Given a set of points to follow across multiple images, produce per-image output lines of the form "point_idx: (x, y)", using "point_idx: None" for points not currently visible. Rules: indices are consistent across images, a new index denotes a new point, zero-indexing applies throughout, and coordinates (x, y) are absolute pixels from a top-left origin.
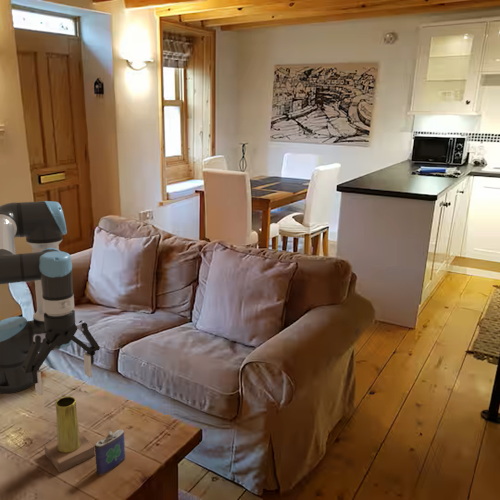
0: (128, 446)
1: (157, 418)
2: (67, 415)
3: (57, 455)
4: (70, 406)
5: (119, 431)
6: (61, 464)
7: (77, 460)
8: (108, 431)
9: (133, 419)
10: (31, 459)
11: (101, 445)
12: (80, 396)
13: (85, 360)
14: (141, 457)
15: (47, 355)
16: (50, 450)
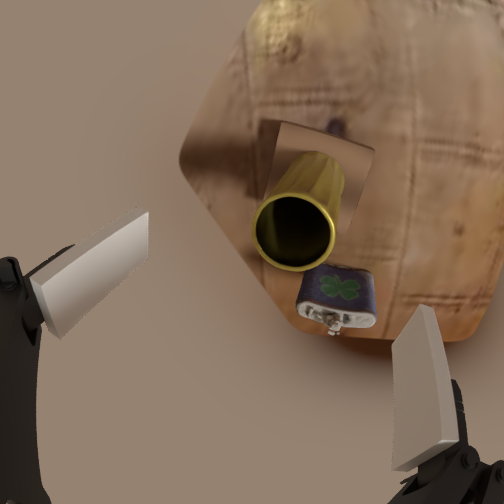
0: (402, 267)
1: (496, 263)
2: (281, 242)
3: (275, 183)
4: (284, 268)
5: (367, 319)
6: None
7: None
8: (336, 322)
9: (483, 218)
10: (256, 111)
11: (303, 316)
12: (485, 31)
13: (419, 404)
14: (383, 306)
15: (34, 442)
16: (277, 153)
